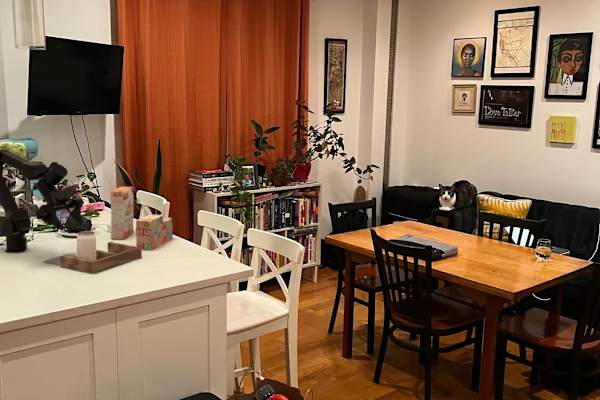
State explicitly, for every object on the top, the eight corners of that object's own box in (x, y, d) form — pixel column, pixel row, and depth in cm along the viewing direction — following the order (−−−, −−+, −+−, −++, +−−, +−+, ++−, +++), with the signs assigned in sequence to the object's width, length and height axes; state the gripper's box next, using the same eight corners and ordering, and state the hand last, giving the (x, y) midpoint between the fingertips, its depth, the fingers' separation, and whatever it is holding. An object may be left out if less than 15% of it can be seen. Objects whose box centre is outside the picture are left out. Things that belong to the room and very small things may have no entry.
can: (80, 262, 213) (79, 230, 211) (98, 262, 214) (97, 230, 212) (75, 267, 207) (74, 234, 205) (94, 267, 207) (93, 235, 205)
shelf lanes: (60, 267, 207) (60, 256, 206) (110, 251, 229) (110, 241, 228) (93, 274, 200) (93, 262, 200) (141, 257, 222) (141, 247, 222)
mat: (43, 262, 212) (43, 261, 212) (67, 255, 222) (67, 254, 222) (62, 266, 208) (62, 265, 208) (85, 259, 218) (85, 258, 218)
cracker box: (124, 240, 248) (124, 191, 244) (110, 239, 248) (109, 190, 244) (134, 232, 261) (133, 186, 258) (121, 232, 261) (120, 185, 258)
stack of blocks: (159, 237, 254) (159, 210, 252) (172, 238, 253) (172, 211, 251) (136, 249, 233) (135, 219, 231) (150, 251, 232) (150, 220, 230)
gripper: (40, 182, 202) (64, 218, 200) (80, 176, 219) (103, 210, 217) (24, 201, 207) (47, 237, 205) (65, 194, 224) (86, 227, 222)
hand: (72, 227), depth 212 cm, fingers open, 9 cm apart
